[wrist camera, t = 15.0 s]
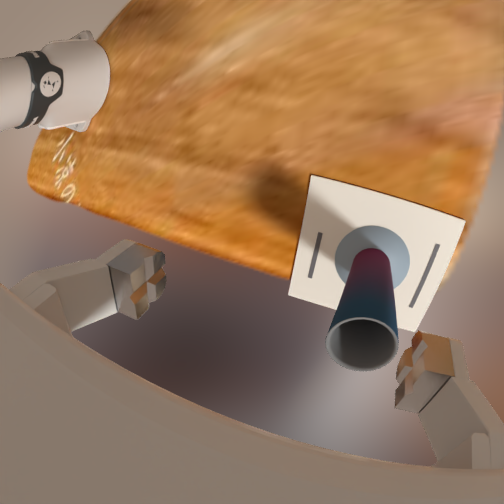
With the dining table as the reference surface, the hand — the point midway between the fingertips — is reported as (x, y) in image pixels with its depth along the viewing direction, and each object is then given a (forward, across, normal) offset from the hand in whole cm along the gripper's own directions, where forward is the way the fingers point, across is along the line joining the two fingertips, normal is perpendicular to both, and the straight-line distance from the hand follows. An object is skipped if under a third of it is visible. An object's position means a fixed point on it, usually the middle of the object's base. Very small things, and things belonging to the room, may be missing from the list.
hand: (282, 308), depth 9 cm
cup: (+29, -6, +14) cm, 32 cm away
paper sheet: (+29, -6, +13) cm, 32 cm away
